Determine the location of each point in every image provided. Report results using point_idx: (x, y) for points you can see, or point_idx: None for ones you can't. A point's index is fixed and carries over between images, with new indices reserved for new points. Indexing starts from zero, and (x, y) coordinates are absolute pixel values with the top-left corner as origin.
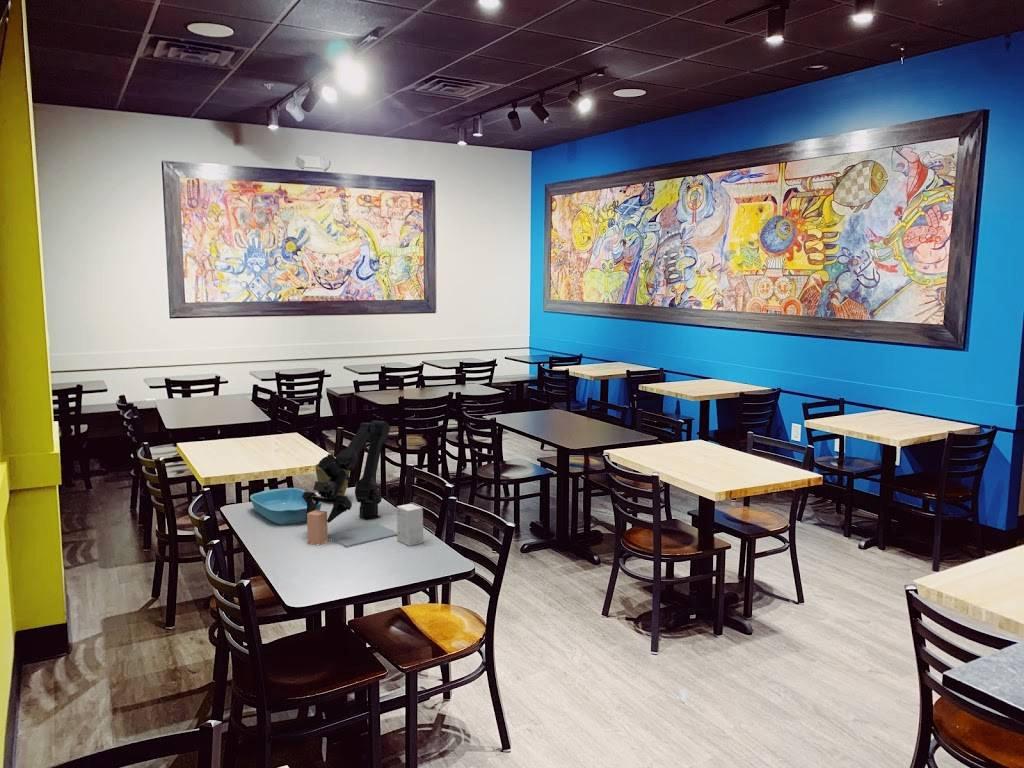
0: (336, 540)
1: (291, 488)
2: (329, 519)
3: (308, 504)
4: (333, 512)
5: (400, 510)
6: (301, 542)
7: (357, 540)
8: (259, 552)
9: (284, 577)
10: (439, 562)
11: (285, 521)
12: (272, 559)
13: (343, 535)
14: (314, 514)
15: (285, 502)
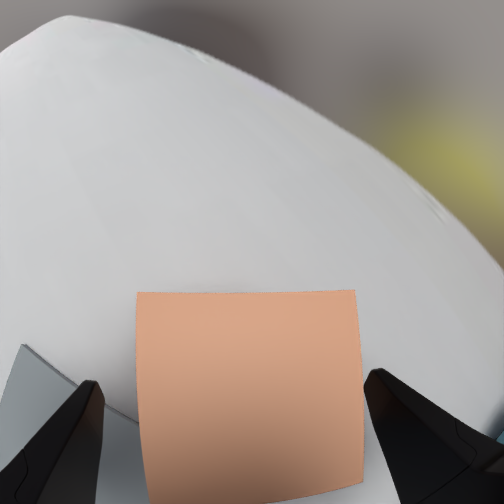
0: (115, 415)
1: None
2: (72, 400)
3: (490, 455)
4: (17, 456)
5: None
6: None
7: (25, 441)
8: (357, 148)
9: (126, 43)
10: None
11: (499, 442)
12: (256, 104)
13: (143, 501)
14: (222, 300)
15: None
